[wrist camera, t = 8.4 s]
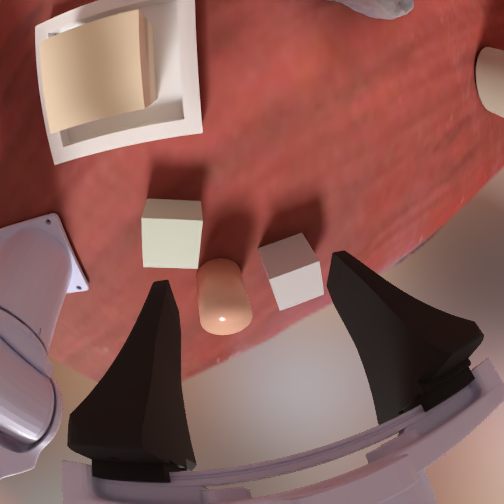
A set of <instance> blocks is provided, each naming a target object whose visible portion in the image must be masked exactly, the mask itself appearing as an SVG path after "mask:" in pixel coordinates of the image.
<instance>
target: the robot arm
mask: <svg viewBox="0 0 504 504" xmlns="http://www.w3.org/2000/svg"><path fill="white" fill-rule="evenodd" d="M47 219H49V220H50V221H51V222H48V220H47ZM79 286H81V287H79ZM88 288H89V283H88V281H87V279H86V277H85V275H84V273H83V271H82V269H81V267H80V265H79V263H78V261H77V259H76V256H75V254H74V252H73V250H72V247H71V245H70V243H69V240H68V238H67V236H66V233H65V231H64V228H63V226H62V223H61V221H60V218H59V216H58V215H57V214H55V213H51V214H47V215H44V216H40V217H36V218H33V219H29V220H26V221H23V222H19V223H16V224H13V225H9V226H6V227H3V228H0V480H1V479H2V478H5V477H8V476H11V475H15V474H19V473H23V472H26V471H28V470H31V469H33V468H34V467H35V465H36V462H37V459H38V456H39V454H40V452H41V451H42V449H43V448H44V447H45V446H46V445H47V444H48V443H49V442H50V441H51V440H52V439H53V438H54V436H55V434H56V432H57V430H58V428H59V426H60V422H61V417H62V409H63V408H62V407H63V404H62V395H61V391H60V388H59V386H58V385H57V383H56V382H55V381H54V380H53V379H52V378H51V376H52V371H53V366H54V365H53V364H52V363H51V362H50V361H49V359H48V358H47V356H48V352H49V348H50V344H51V341H52V337H53V333H54V330H55V326H56V323H57V320H58V317H59V313H60V310H61V307H62V304H63V301H64V298H65V295H66V293H72V292H79V291H86V290H88ZM327 288H328V291H329V293H330V296H331V298H332V301H333V304H334V306H335V308H336V309H337V311H338V313H339V315H340V317H341V318H342V321H343V322H344V324H345V326H346V328H347V330H348V332H349V334H350V335H351V337H352V339H353V341H354V343H355V345H356V348H357V350H358V353H359V355H360V358H361V361H362V363H363V366H364V369H365V372H366V375H367V378H368V382H369V385H370V389H371V392H372V396H373V400H374V405H375V410H376V415H377V420H378V424H379V425H378V426H376V427H374V428H372V429H369V430H367V431H364V432H362V433H359V434H357V435H354V436H352V437H349V438H346V439H343V440H341V441H338V442H335V443H332V444H329V445H326V446H323V447H320V448H316V449H313V450H310V451H307V452H303V453H299V454H295V455H291V456H287V457H283V458H279V459H274V460H270V461H265V462H260V463H255V464H249V465H243V466H237V467H230V468H222V469H214V470H202V471H192V470H193V469H194V468H195V466H196V460H195V457H194V452H193V448H192V444H191V440H190V435H189V430H188V425H187V420H186V414H185V408H184V401H183V394H182V386H181V328H180V318H179V311H178V308H177V305H176V302H175V299H174V296H173V293H172V290H171V287H170V284H169V281H168V280H163V281H156V282H154V283H153V284H152V287H151V289H150V292H149V294H148V296H147V299H146V301H145V303H144V306H143V308H142V310H141V312H140V314H139V317H138V319H137V321H136V323H135V325H134V327H133V329H132V331H131V333H130V335H129V337H128V338H127V340H126V342H125V344H124V346H123V347H122V349H121V351H120V352H119V354H118V356H117V357H116V359H115V360H114V362H113V363H112V365H111V366H110V368H109V369H108V371H107V372H106V374H105V375H104V376H103V378H102V379H101V380H100V381H99V383H98V384H97V385H96V386H95V388H94V389H93V390H92V391H91V393H90V394H89V395H88V396H87V397H86V398H85V399H84V401H83V402H82V403H81V404H80V405H79V406H78V407H77V408H76V409H75V410H74V411H73V412H72V413H71V414H70V417H69V424H68V447H69V448H70V449H71V450H73V451H74V452H76V453H79V454H81V455H83V456H85V457H87V458H90V459H92V465H88V464H83V463H77V462H71V461H66V460H63V461H62V491H63V504H438V502H437V499H436V497H435V494H434V491H433V489H432V486H431V484H430V481H429V479H428V476H427V473H426V471H425V469H426V468H427V467H429V466H430V465H431V464H433V463H434V462H436V461H437V460H438V459H439V458H441V457H442V456H444V455H445V454H446V453H447V452H449V451H450V450H451V449H452V448H454V447H455V446H456V445H457V444H458V443H459V442H461V441H462V440H463V439H464V438H465V437H466V436H468V435H469V434H470V433H471V432H472V431H473V430H474V429H475V428H476V427H477V426H478V425H480V424H481V423H482V422H483V421H484V420H485V419H486V418H487V417H488V416H489V415H490V414H491V413H492V412H493V411H494V410H495V409H496V408H497V407H498V406H499V405H500V404H501V403H502V402H503V401H504V383H503V382H502V380H501V378H500V376H499V375H498V373H497V371H496V370H495V368H494V366H493V365H492V363H491V361H490V360H489V358H487V359H485V360H484V361H483V362H481V363H480V364H479V365H478V366H476V367H475V368H473V369H472V370H470V369H469V367H468V366H470V365H471V362H470V360H469V359H468V358H469V357H470V356H471V354H472V353H473V352H474V351H475V350H476V349H477V347H478V346H479V345H480V344H481V342H482V341H483V338H484V335H483V333H482V332H481V330H480V329H479V327H478V326H477V324H476V323H475V322H474V321H470V320H467V319H463V318H460V317H457V316H454V315H451V314H448V313H446V312H443V311H441V310H438V309H436V308H434V307H431V306H430V305H427V304H425V303H423V302H421V301H419V300H417V299H415V298H414V297H412V296H410V295H408V294H407V293H405V292H403V291H402V290H400V289H399V288H397V287H396V286H394V285H392V284H391V283H389V282H388V281H386V280H385V279H384V278H382V277H381V276H379V275H378V274H377V273H375V272H374V271H372V270H371V269H370V268H368V267H367V266H366V265H364V264H363V263H361V262H360V261H359V260H357V259H356V258H355V257H353V256H352V255H350V254H349V253H347V252H346V251H339V252H334V253H332V259H331V265H330V270H329V276H328V281H327ZM397 433H399V434H398V437H396V438H394V439H392V440H390V441H388V442H386V443H384V444H382V445H381V446H380V447H378V448H377V449H375V450H373V451H371V452H369V453H367V455H366V457H367V459H368V464H367V465H365V466H363V467H360V468H358V469H355V470H353V471H350V472H348V473H345V474H342V475H339V476H337V477H334V478H331V479H328V480H325V481H322V482H318V483H315V484H312V485H308V486H305V487H301V488H298V489H294V490H290V491H286V492H282V493H277V494H273V495H268V496H262V497H257V498H252V497H251V493H250V489H248V488H244V487H236V488H225V489H212V490H209V489H208V488H206V487H209V486H219V485H228V484H236V483H243V482H249V481H255V480H260V479H265V478H270V477H275V476H279V475H283V474H288V473H292V472H296V471H300V470H303V469H307V468H310V467H313V466H317V465H320V464H323V463H326V462H329V461H332V460H335V459H338V458H341V457H344V456H346V455H349V454H351V453H354V452H356V451H359V450H361V449H364V448H366V447H369V446H371V445H373V444H376V443H378V442H380V441H382V440H384V439H387V438H389V437H391V436H393V435H395V434H397ZM180 471H188V472H180Z"/></svg>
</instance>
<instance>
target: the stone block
mask: <svg viewBox="0 0 504 504" xmlns="http://www.w3.org/2000/svg"><path fill="white" fill-rule="evenodd" d="M328 1H337V2H340V3H342V4H344V5H346V6H348V7H350V8H351V9H352V10H354V11H356V12H359V13H362V14H364V15H366V16H368V17H371V18H375V19H378V18H380V19H395V18H397V17H400V16H403V15H406V14H408V12H409V11H411V10H412V9H413V6H414V5H413V0H328Z"/></svg>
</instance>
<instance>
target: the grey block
mask: <svg viewBox="0 0 504 504" xmlns="http://www.w3.org/2000/svg"><path fill="white" fill-rule="evenodd" d="M258 250H259V253H260V256H261V259H262V262H263V265H264V268H265V270H266V273H267V276H268V279H269V282H270V285H271V287H272V290H273V293H274V296H275V298H276V301H277V304H278V307H279V309H280V311H281V310H283V309H286V308H289V307H292V306H294V305H297V304H300V303H302V302H305V301H308V300H310V299H313V298H316V297H318V296H321V295H323V294H324V291H323V283H322V276H321V269H320V263H319V260H318V258H317V256H316V255H315V253H314V252H313V250H312V248H311V247H310V245H309V243H308V242H307V240H306V238H305V237H304V235H303V234H302V233H299V234H296V235H294V236H291V237H288V238H285V239H283V240H280V241H277V242H274V243H271V244H269V245H266V246H263V247H260V248H258Z"/></svg>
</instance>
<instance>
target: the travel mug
mask: <svg viewBox="0 0 504 504" xmlns="http://www.w3.org/2000/svg"><path fill="white" fill-rule="evenodd" d="M476 83H477V89H478V93H479V97H480V99H481V102H482V104H483V105H484V107H485V108H486V109H487V110H488V111H490V112H492V113H495V114H497V115H499V116H501V117H503V118H504V50H500V49H496V48H491V47H485V48H483V49H482V50H481V52H480V54H479V56H478V59H477V64H476Z"/></svg>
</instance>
